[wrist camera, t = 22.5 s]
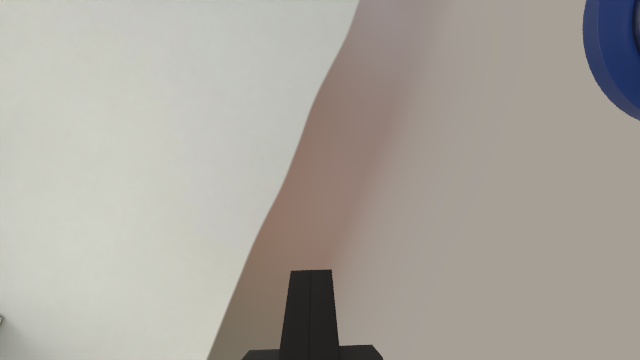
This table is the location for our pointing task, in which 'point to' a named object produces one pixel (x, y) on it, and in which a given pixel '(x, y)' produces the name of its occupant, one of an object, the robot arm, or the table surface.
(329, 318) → the robot arm
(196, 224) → the table surface
